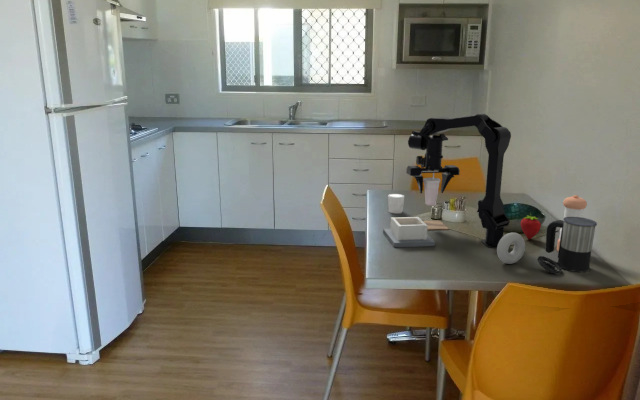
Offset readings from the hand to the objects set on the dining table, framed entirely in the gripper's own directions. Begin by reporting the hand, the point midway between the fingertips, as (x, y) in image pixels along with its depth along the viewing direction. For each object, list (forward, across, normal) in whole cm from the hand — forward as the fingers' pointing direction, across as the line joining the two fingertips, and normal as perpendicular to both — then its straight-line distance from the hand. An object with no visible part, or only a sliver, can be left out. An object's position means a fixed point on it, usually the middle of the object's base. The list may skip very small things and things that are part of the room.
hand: (431, 193), depth 198 cm
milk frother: (+13, -26, +46) cm, 55 cm away
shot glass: (+13, +7, -22) cm, 26 cm away
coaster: (+13, 0, 0) cm, 13 cm away
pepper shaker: (+13, -37, +32) cm, 51 cm away
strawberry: (+13, -30, +19) cm, 38 cm away
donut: (+13, -12, +41) cm, 44 cm away
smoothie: (+4, 0, 0) cm, 5 cm away
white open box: (+13, +13, +14) cm, 23 cm away
